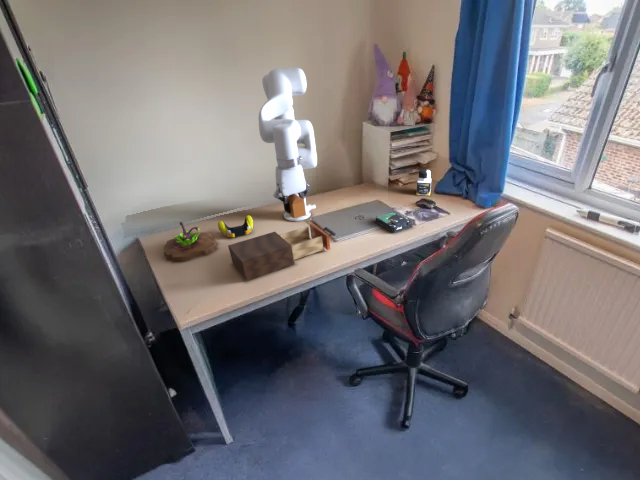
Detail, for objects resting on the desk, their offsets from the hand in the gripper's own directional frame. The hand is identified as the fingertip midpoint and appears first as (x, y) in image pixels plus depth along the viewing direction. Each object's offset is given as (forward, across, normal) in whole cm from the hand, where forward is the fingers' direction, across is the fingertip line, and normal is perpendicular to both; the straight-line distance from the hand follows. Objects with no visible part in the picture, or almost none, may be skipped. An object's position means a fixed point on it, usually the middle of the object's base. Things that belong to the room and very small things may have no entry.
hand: (294, 209), depth 145 cm
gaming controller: (+18, +15, -30) cm, 38 cm away
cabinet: (+17, +17, +3) cm, 24 cm away
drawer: (+16, -2, +3) cm, 16 cm away
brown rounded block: (+2, 0, 0) cm, 2 cm away
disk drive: (+18, -44, +6) cm, 48 cm away
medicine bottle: (+18, -80, -13) cm, 83 cm away
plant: (+17, +36, -28) cm, 49 cm away
